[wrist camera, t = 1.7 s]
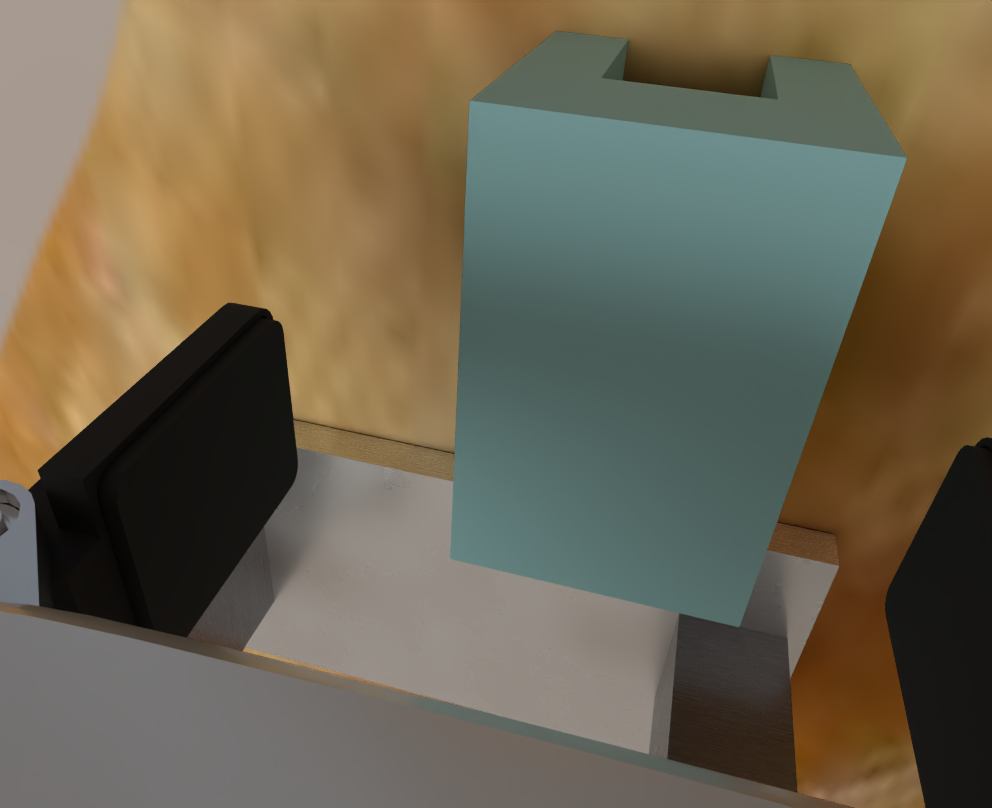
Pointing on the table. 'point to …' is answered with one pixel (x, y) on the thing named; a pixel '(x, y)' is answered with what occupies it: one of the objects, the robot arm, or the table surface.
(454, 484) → the teal block
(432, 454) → the shaft rig
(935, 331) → the table surface
